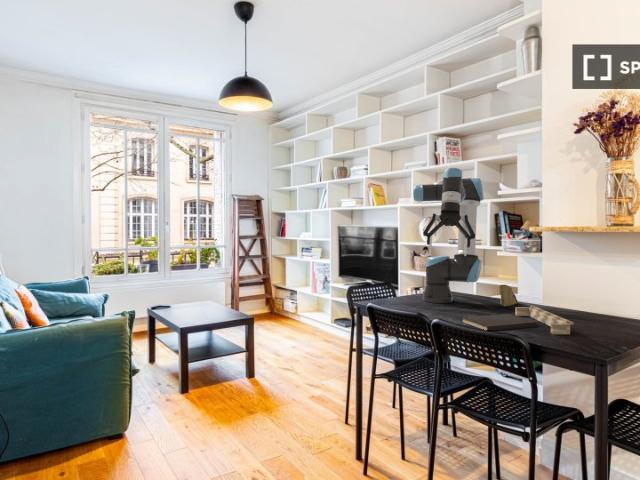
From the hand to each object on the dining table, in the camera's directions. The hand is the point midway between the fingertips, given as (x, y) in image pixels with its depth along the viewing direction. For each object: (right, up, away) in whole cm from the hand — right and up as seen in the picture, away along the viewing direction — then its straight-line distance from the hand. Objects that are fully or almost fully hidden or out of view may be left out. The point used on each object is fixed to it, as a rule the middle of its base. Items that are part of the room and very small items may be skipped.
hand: (447, 253), depth 171 cm
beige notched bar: (+37, -28, 0) cm, 47 cm away
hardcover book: (+21, -29, 0) cm, 35 cm away
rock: (+43, -27, +40) cm, 64 cm away
